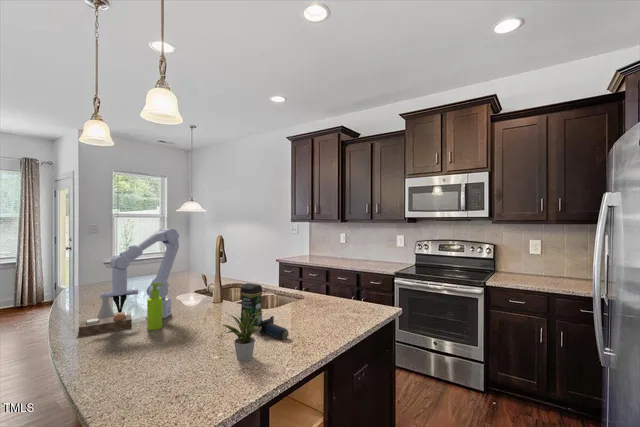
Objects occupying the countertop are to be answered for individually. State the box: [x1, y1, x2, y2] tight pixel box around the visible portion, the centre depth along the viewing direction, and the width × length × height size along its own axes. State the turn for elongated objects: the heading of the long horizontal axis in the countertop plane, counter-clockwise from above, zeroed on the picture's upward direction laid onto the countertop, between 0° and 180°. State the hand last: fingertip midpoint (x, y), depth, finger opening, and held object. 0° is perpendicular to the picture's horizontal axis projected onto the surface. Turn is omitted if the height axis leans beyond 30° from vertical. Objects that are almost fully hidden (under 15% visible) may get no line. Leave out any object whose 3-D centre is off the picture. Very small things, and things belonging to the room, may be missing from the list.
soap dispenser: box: [146, 282, 164, 331], centre depth 142 cm, size 6×7×20 cm
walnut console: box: [78, 313, 133, 337], centre depth 142 cm, size 19×9×4 cm, turn 123°
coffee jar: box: [240, 282, 263, 327], centre depth 146 cm, size 10×8×19 cm
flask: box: [96, 297, 115, 319], centre depth 157 cm, size 7×7×10 cm
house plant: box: [221, 310, 264, 362], centre depth 112 cm, size 14×14×16 cm
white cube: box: [86, 317, 99, 325], centre depth 139 cm, size 4×4×4 cm
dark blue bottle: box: [257, 316, 289, 341], centre depth 131 cm, size 9×8×12 cm
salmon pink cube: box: [114, 311, 126, 321], centre depth 144 cm, size 4×4×4 cm
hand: (119, 312), depth 144 cm, fingers closed
